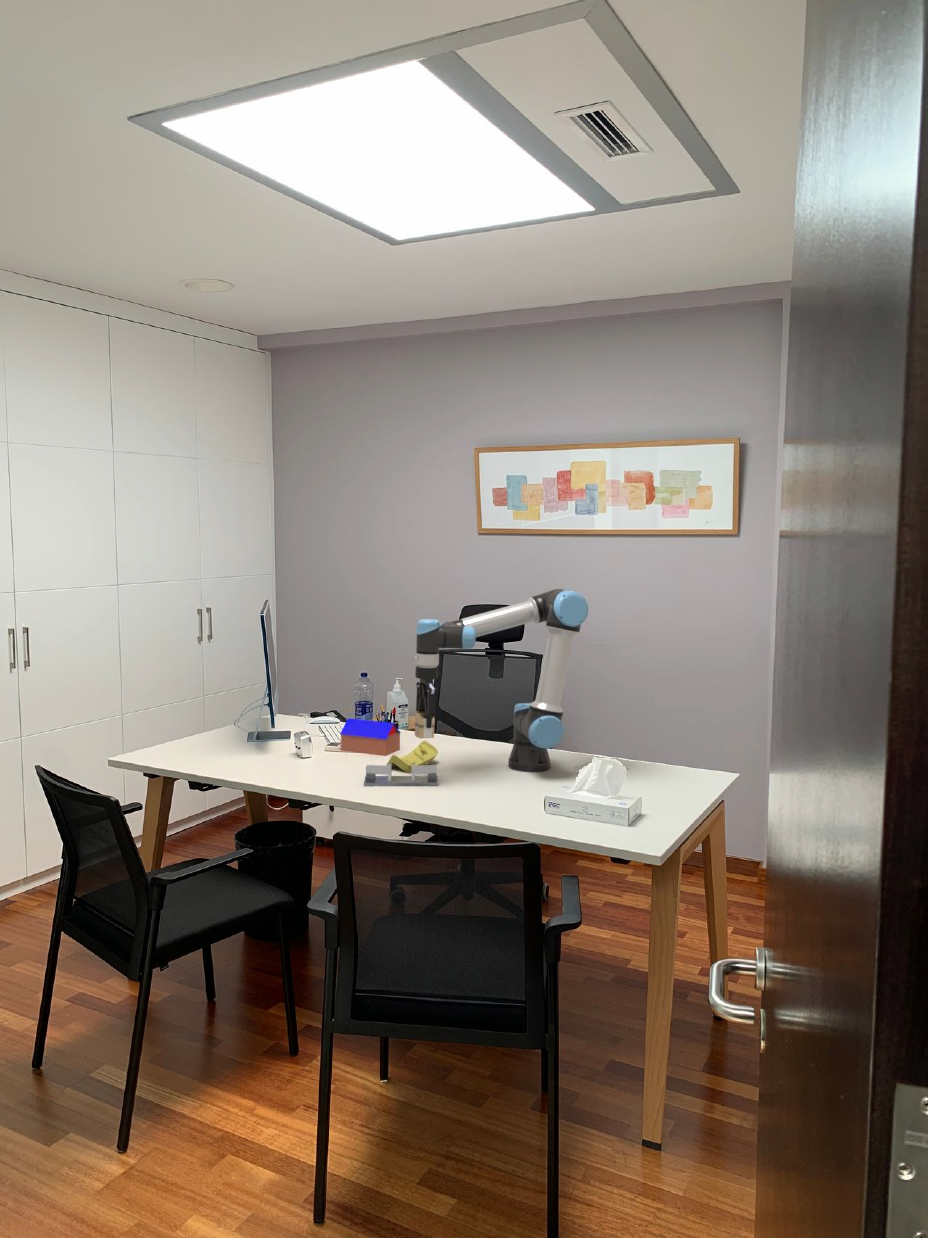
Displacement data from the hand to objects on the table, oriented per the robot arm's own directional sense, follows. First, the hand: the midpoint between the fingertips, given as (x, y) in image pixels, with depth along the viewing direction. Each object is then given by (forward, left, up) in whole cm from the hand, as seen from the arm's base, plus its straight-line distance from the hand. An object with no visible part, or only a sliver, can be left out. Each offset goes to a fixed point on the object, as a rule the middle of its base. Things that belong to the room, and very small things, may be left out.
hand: (424, 735), depth 303 cm
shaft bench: (+7, +2, -16) cm, 17 cm away
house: (+29, -41, -16) cm, 53 cm away
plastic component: (+8, -20, -16) cm, 27 cm away
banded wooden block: (0, 0, 0) cm, 0 cm away
